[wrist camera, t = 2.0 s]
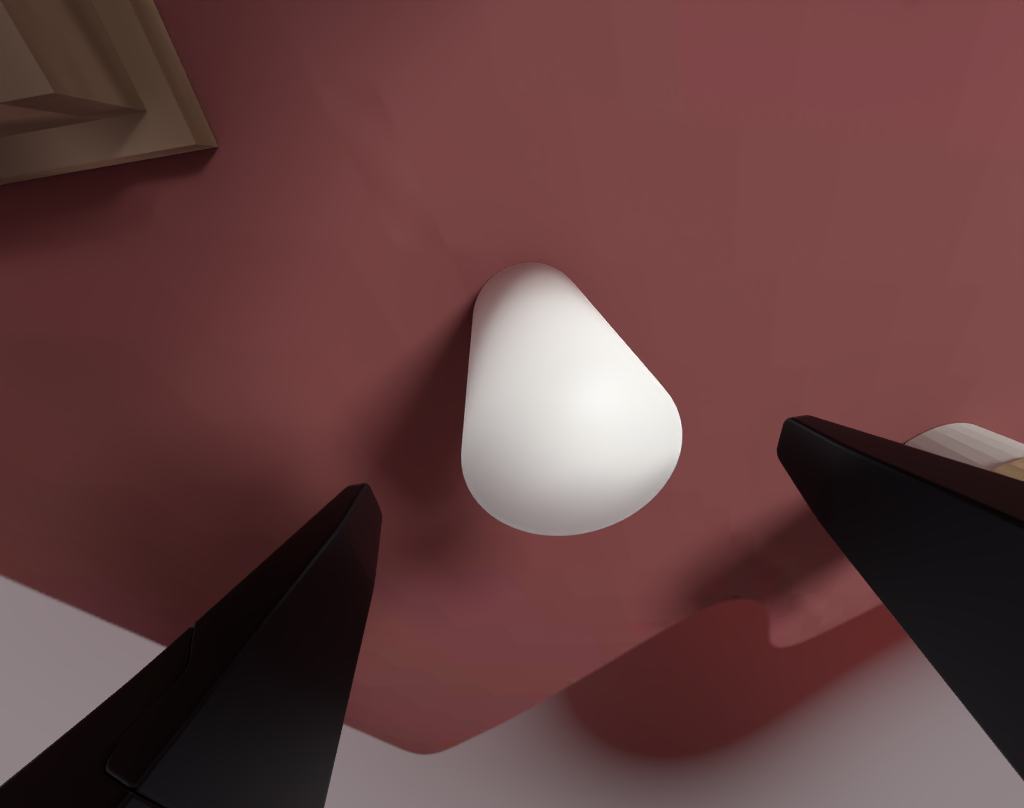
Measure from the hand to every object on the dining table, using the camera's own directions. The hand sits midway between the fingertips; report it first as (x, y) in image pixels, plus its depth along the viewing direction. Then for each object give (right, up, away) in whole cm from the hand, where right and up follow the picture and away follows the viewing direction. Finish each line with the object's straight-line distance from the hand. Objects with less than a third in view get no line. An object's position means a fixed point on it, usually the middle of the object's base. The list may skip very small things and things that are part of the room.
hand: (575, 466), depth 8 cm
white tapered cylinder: (-1, +5, +9) cm, 10 cm away
